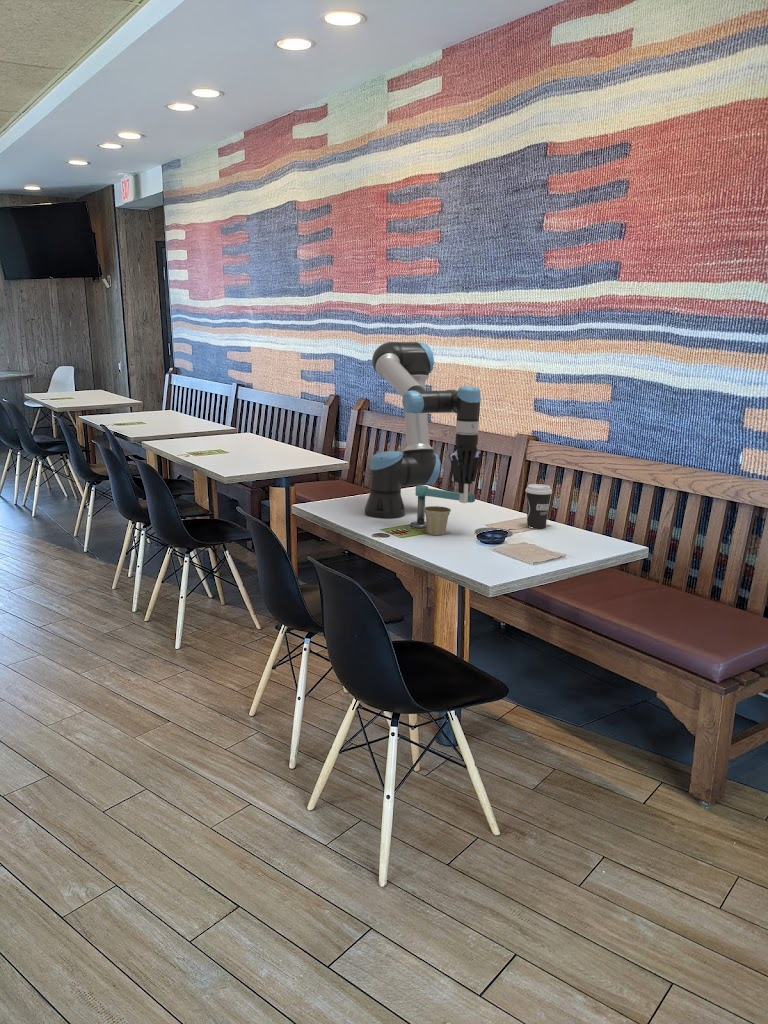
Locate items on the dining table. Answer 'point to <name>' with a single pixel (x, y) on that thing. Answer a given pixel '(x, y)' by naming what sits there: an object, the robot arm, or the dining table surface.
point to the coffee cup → (537, 505)
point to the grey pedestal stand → (420, 514)
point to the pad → (491, 529)
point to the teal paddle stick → (441, 493)
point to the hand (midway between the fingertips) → (463, 502)
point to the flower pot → (436, 519)
